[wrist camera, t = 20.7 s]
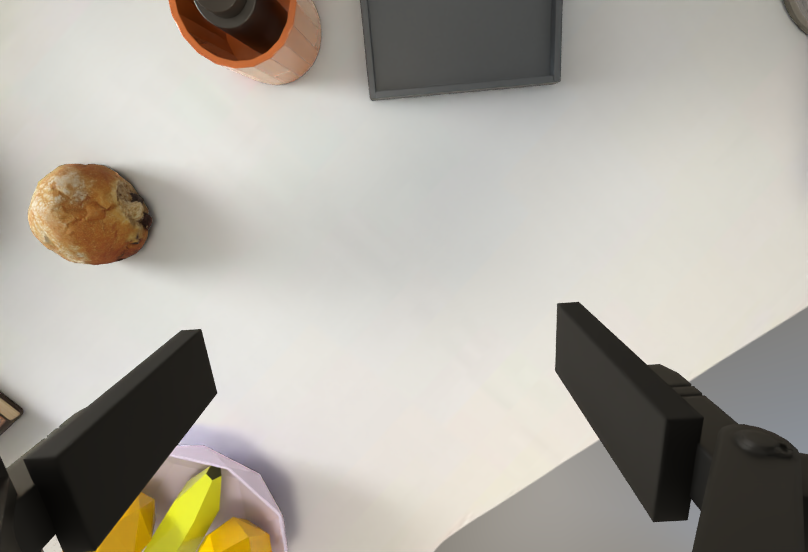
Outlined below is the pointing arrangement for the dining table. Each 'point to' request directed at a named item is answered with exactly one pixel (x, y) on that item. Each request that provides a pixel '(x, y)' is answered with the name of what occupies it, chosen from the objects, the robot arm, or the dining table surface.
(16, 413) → the hardcover book
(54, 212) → the bread roll
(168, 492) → the fruit bowl
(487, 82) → the tray
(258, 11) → the pepper mill
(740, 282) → the dining table surface
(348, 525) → the dining table surface
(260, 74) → the pot
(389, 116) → the dining table surface
